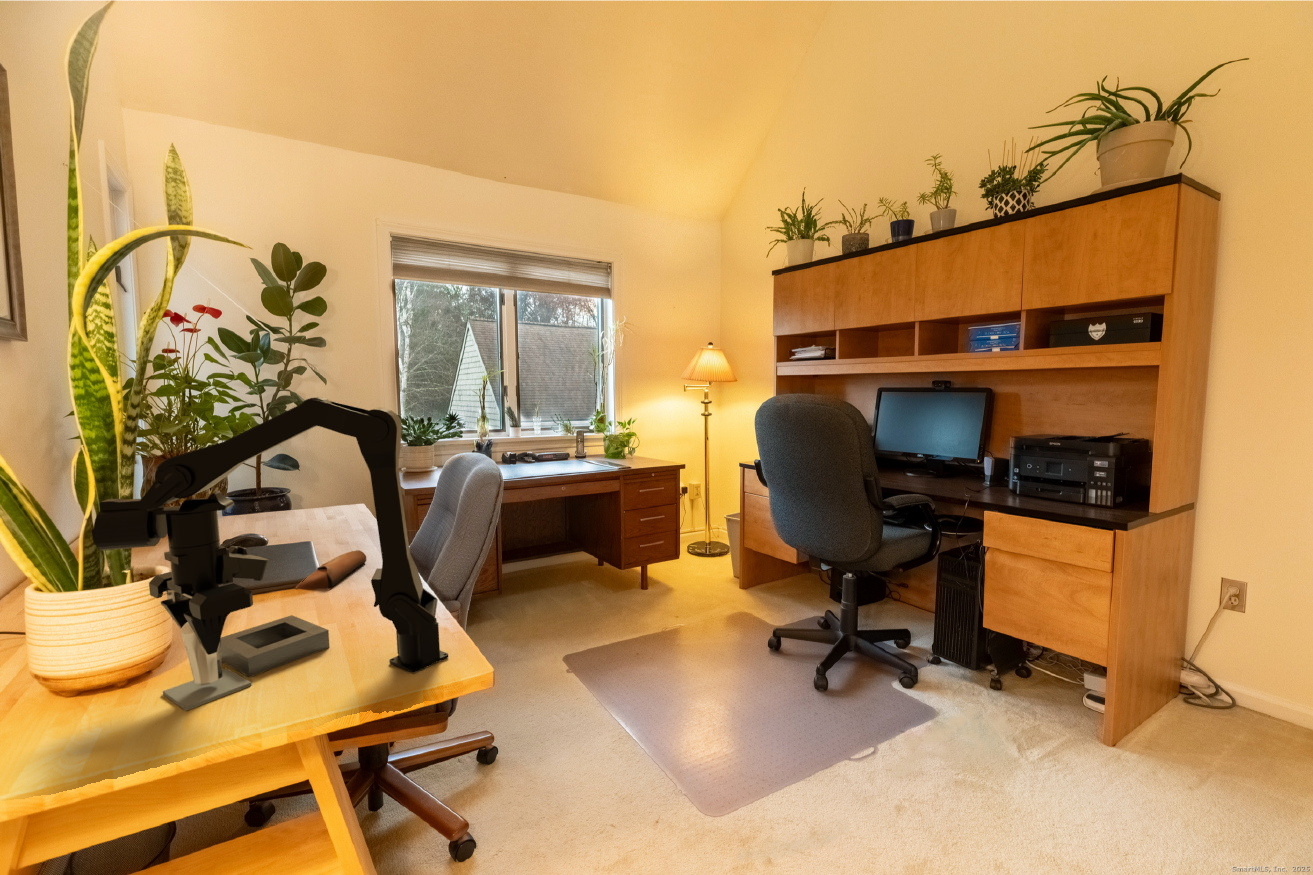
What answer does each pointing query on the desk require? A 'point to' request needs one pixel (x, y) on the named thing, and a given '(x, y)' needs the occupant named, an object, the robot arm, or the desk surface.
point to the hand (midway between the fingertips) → (205, 649)
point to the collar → (272, 645)
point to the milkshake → (201, 658)
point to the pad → (206, 690)
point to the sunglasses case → (333, 571)
